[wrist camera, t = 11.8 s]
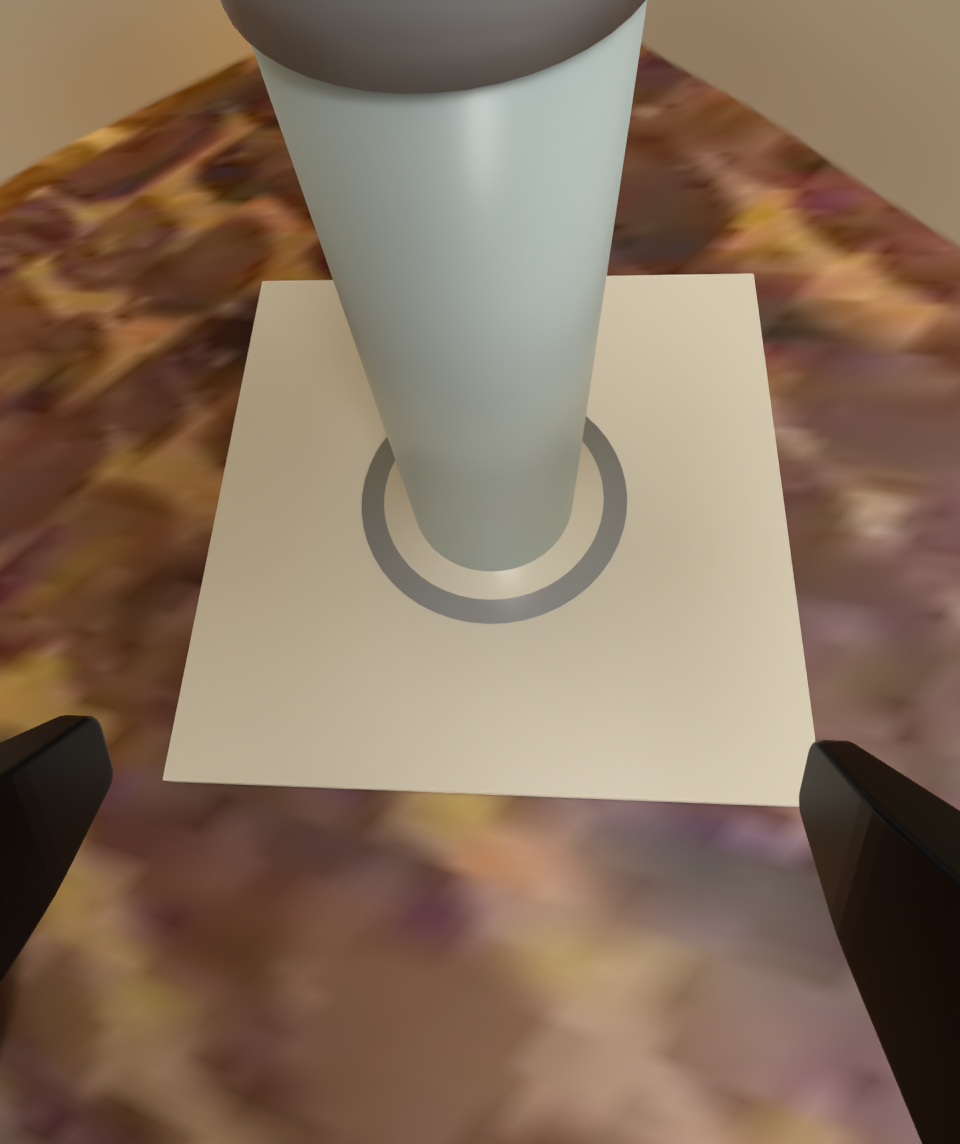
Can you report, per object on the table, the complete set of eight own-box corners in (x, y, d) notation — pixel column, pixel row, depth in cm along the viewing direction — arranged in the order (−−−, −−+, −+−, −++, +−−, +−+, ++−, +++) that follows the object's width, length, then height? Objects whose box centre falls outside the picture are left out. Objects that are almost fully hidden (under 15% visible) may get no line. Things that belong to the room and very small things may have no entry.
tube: (525, 607, 18) (530, -3, 5) (375, 527, 19) (49, -142, 6) (608, 467, 19) (784, -305, 6) (463, 400, 20) (354, -375, 7)
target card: (813, 807, 16) (825, 806, 16) (173, 781, 18) (160, 779, 17) (747, 287, 22) (754, 271, 21) (268, 294, 23) (261, 278, 23)
